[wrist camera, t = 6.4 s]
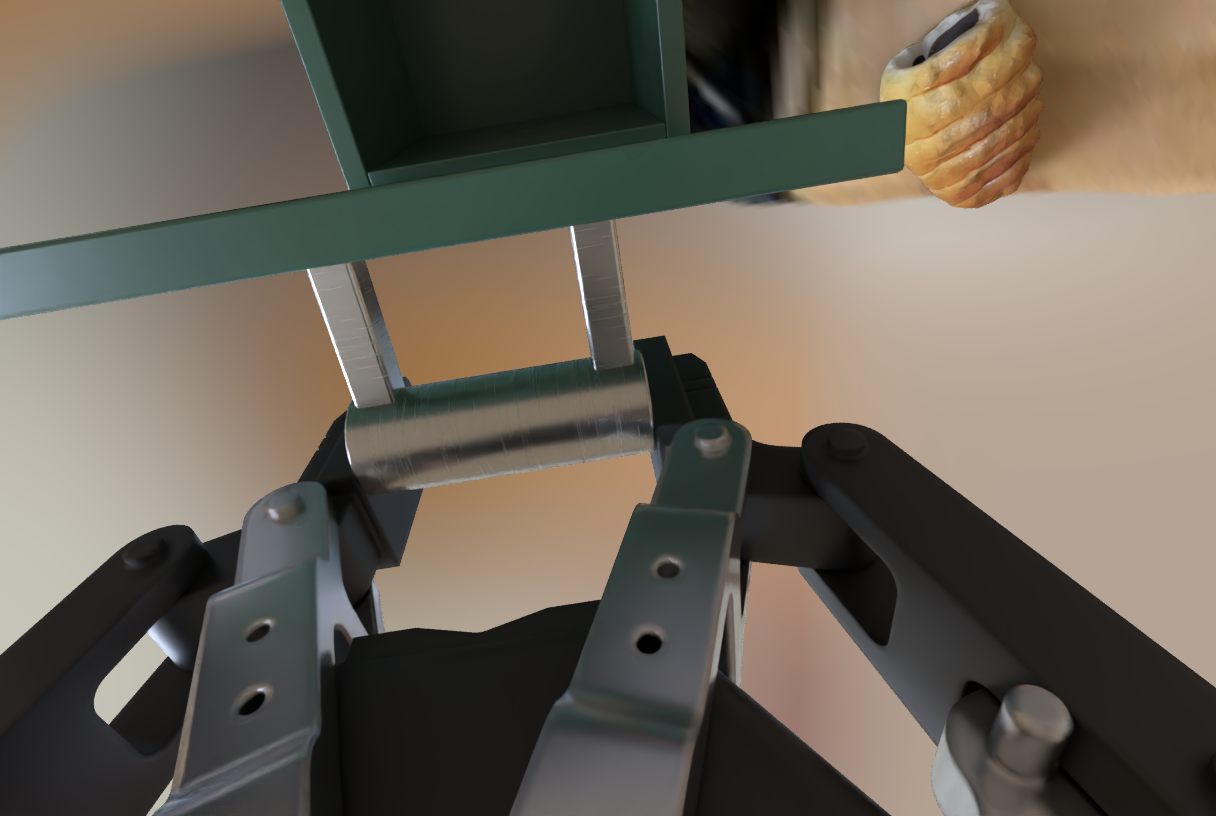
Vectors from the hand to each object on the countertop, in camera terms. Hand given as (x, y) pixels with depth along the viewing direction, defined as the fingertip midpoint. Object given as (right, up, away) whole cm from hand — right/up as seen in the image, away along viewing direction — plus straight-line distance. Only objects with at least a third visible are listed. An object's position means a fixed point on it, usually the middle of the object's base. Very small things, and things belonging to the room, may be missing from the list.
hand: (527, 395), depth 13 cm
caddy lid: (-1, +5, 0) cm, 5 cm away
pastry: (+19, +15, +16) cm, 29 cm away
